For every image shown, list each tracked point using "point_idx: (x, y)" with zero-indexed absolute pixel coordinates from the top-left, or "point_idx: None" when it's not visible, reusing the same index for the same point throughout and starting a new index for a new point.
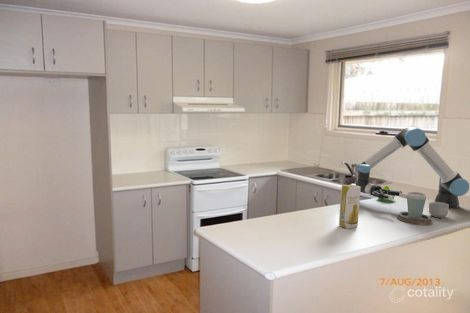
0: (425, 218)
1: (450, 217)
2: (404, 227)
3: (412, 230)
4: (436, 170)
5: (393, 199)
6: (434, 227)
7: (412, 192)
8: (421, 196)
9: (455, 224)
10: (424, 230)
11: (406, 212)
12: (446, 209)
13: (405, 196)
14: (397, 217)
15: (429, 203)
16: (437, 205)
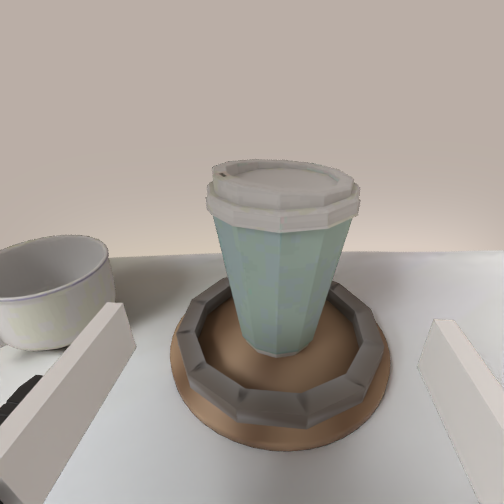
0: (216, 310)
1: None
2: (445, 299)
3: (428, 273)
4: None
5: (421, 355)
6: None
7: (260, 184)
8: (299, 162)
9: (171, 256)
10: (370, 261)
11: (246, 389)
12: (86, 251)
13: (110, 361)
14: (381, 396)
15: (34, 294)
16: None
